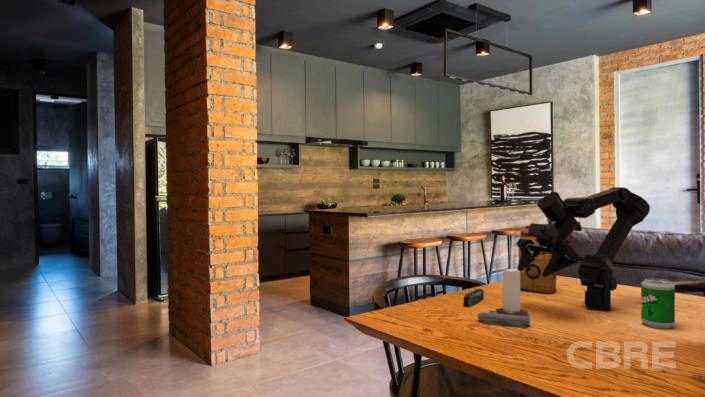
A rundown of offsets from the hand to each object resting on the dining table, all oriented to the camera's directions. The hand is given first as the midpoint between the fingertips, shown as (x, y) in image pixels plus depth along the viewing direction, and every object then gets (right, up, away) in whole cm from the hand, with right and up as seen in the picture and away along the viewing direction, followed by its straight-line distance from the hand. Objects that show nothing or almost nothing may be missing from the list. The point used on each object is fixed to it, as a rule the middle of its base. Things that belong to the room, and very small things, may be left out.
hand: (530, 273), depth 132 cm
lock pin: (-6, -12, -2) cm, 13 cm away
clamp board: (-8, -13, -4) cm, 16 cm away
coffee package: (+16, -12, +35) cm, 40 cm away
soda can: (+31, -13, -7) cm, 35 cm away
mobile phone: (-12, -13, +14) cm, 23 cm away
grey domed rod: (-10, -12, -8) cm, 17 cm away
